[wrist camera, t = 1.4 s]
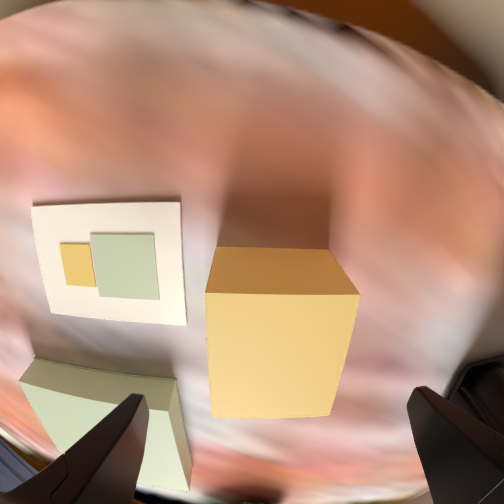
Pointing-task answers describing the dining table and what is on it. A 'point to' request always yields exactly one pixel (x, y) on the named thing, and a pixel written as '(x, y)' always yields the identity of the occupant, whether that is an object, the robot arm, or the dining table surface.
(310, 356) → the top brick
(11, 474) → the dark grey flat panel
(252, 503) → the tape measure
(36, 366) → the base brick
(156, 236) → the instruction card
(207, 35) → the dining table surface
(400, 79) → the dining table surface
